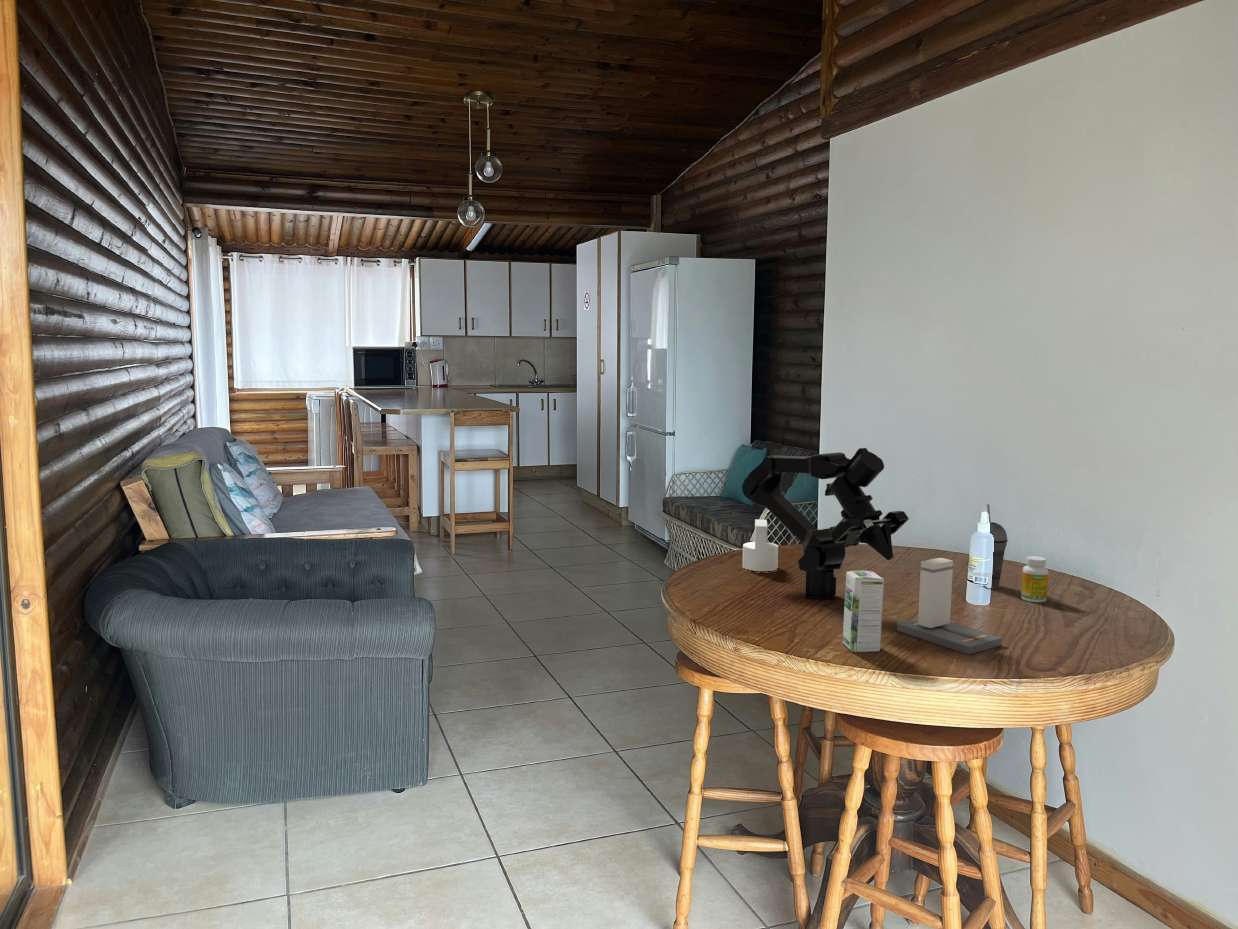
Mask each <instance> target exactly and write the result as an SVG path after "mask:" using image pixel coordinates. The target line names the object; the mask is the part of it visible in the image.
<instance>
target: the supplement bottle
mask: <svg viewBox="0 0 1238 929" xmlns="http://www.w3.org/2000/svg"><path fill="white" fill-rule="evenodd" d="M1025 563H1026V564H1027V565H1025V566H1023V567H1022V571H1021V572H1022V574H1021V588H1020V589H1021V590H1020V598H1021V599H1022V600H1024V601H1026V602H1031V603H1045V602H1046V601H1047V598H1048V597H1047V596H1048V583H1049V570H1048V568H1047V567H1045V566H1046V564H1047V559H1046V558H1045V557H1043V556H1036V555H1035V556H1033V555H1031V556H1030V555H1028V556H1026V562H1025Z"/></svg>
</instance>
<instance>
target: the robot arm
mask: <svg viewBox="0 0 1238 929" xmlns="http://www.w3.org/2000/svg"><path fill="white" fill-rule="evenodd" d="M884 469H885V463H884V461H883V459H882V458H881V457H879V456H877V455H876V454H875V453H873V452H872V451H869V450H868V449H867V448H866V447H860V448H858V449H857V451H856V452H855V453H854V455H853V456H852V457H851V458H848V457H847V456H846V454H845V453H844V452H841V451H840V452H829V453H819V454H813V455H809V456H799V455H798V456H797V455H782V454H775V455H767V456H765V457H764V458H763V459H762V462H761V463H760V464H759V465H757V467H755V468H754V469H753V470H751V471H750V473H749V474H748V475H746V477H745V479H744V481H743V482H742V486H741V490H742V494H743V496H744V497H745V498H746V499H747V500H749V501H750V502H751V503H753V504H755V505H758V506H761V507H764V508H765V509H767V510H768V511H769V512H770V513H771V514H772V515H773V516H774V517H775V518H776V519H777V520H778V521H779V523H781V524H782V525H783V526H784V527H785V528H786V529H787V530H788V531H789V532H790V533H791V534H792V535H793V536H794V537H795V538H797V540H798V541H799V542H800V543H801V545H802V551H803V555H802V556H801V557H800V558H799V559H798V560H797V561H798V566H799V570H800V571H803V572H805V588H804V598H806V599H820V600H834V598H835V596H836V594H837V575H836V574H835V570H840V569H841V568H842V565H843V561H844V560H845V557H846V548H849V547H853V546H854V547H856V546H858V545H860V543H861V544H866V545H867V546H869V547H871V548H872V549H873V550H875V551H876V552H877V553H878V554H880V555H881V557H883V558H884V559H885V560H887V561H891V560H892V559H893V558H894V554H893V553H894V552H893V551H894V550H893V543H892V541H893V540H892V535H894V534H896V532H897V531H899V529H900V528H902V527H903V525H905V523H908V521H909V519H910V518H909V516H908V515H907V514H906V512H905V511H904V510H894V511H889V512H887V513H886V515H884V517H883V518H881V519H880V517H881V516H883V512H882V510H881V509H878V510H876V509H875V507H874V506H873V504H872V502H871V501H872V500H873V497H872V495H871V494H868V495H866V493H865V492H864V491H863V489H862V488H866V487H869V486H870V484H871V483H872V482H874V480H875V479H876V478H877V477H878V475H880V473H882V471H884ZM784 473H797V474H798V473H799V474H807V475H809V476H811V478H816V479H819V480H829V479H830V480H831V479H834V480H833V481H832V482H830V483H826V488H825V490H824V496H826V497H830V496H834V497H835V499H837V502H838V503H839V505H840V506H841V508H842V510H841V511H840V516H841V517H842V519H841V520H840V521H839V522H838V523H837V524H836V525H833V526H830V527H829V528H828V527H827V528H821V529H819V528H817V527H816V526H815V525H814V524H813V523H812V522H811V521H810V520H809V519H808V518H806V516H804V514H803V513H801V511H799V510H798V509H797V508H796V507H795V505H794V504H792V502H790V501H789V500H788V499H787V498H786V497H785V496H783V493H782V487H781V484H782V482H783V479H784Z"/></svg>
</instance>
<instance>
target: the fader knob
mask: <svg viewBox="0 0 1238 929" xmlns="http://www.w3.org/2000/svg"><path fill="white" fill-rule="evenodd" d="M919 568H920V575H919V576H920V577H919V578H920V580H919V596H918V598H919V599H918V616H917V617H918V624H919V625H922V626H925V627H928V628H933V627H937V626H941V625H945V624H949V623H950V622H951V610H952V609H951V608H952V607H951V606H952V590H953V571H954V560H951V559H948V558H943V557H937V558H936V557H935V558H931V559H927V560H926V559H925V560H921V561H920V567H919Z"/></svg>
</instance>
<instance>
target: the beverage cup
mask: <svg viewBox="0 0 1238 929" xmlns="http://www.w3.org/2000/svg"><path fill="white" fill-rule="evenodd" d="M986 506H987V515H988V514H989V522H990V533H991V534H992V535H993V537H994V552H993V575H992V587H993V588H992V589H997V588H999V585H1000V581H1001V577H1002V568H1003V563H1004V557H1005V550H1006V548H1007V543H1008V542H1009V541H1008V536H1007V535H1008V534H1007V532H1006V530H1005V528H1004V527H1003V526H1002V525H1001V524H999V523H998V522H992V521H991V512H990V510H991V509H990V504H989V503H986Z"/></svg>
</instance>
